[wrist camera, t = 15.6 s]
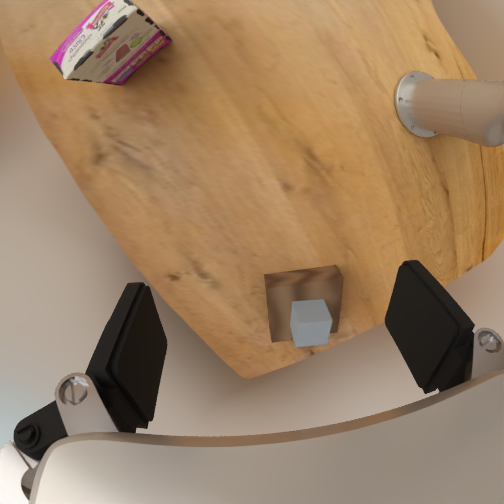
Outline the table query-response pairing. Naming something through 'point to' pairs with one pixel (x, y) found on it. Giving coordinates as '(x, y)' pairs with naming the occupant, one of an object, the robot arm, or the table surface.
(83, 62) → the candy bar box
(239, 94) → the table surface
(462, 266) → the table surface
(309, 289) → the walnut block
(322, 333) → the slate cube
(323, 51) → the table surface
